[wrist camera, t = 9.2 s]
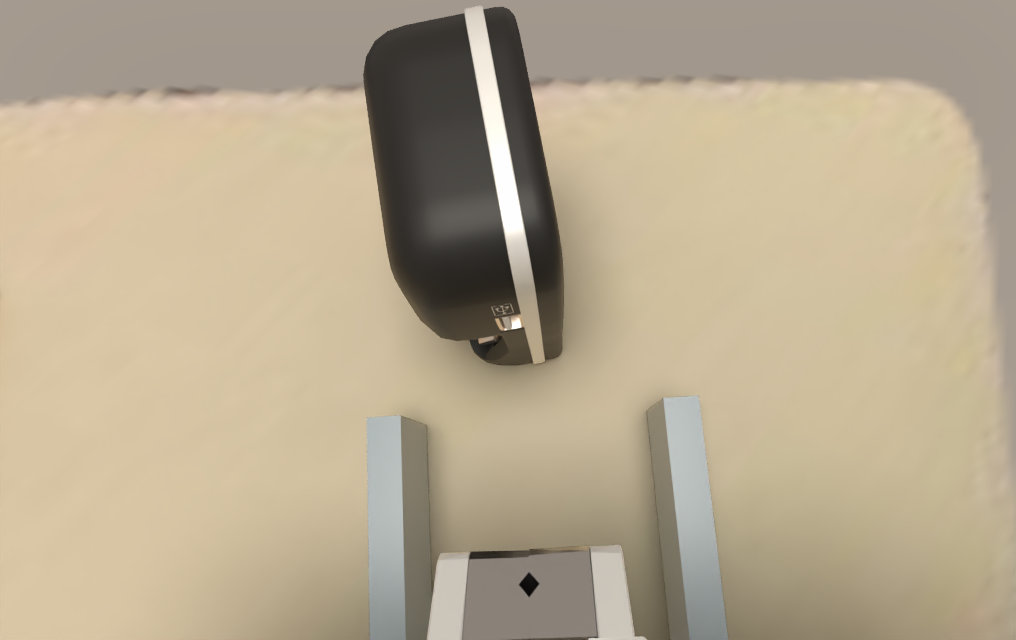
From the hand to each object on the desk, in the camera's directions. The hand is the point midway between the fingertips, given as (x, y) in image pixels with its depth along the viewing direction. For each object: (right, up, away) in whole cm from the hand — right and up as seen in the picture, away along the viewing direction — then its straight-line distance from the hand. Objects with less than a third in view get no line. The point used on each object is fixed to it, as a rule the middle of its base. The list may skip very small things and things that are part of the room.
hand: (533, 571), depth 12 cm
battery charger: (-1, +6, +14) cm, 15 cm away
